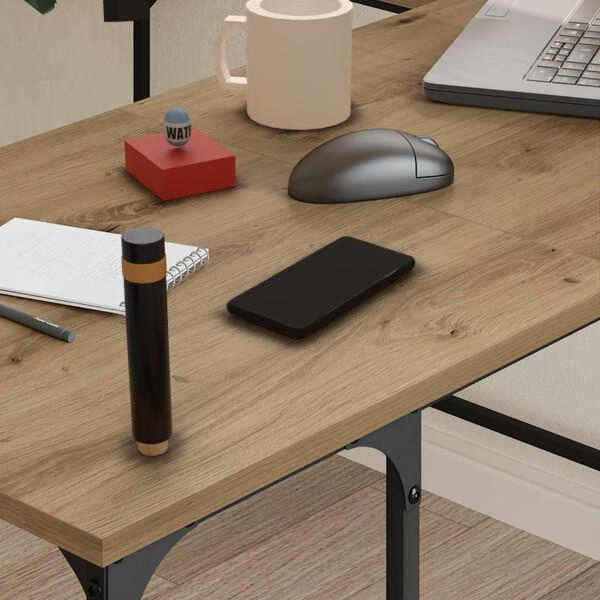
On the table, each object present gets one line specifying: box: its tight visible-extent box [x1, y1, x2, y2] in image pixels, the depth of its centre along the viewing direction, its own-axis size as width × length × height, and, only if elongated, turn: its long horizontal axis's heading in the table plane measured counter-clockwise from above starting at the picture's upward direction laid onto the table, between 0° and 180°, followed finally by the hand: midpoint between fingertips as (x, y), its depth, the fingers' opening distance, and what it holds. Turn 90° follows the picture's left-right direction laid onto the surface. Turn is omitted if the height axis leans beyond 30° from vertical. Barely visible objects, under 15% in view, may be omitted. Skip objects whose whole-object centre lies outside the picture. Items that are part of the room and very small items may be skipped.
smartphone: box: [226, 235, 416, 339], centre depth 103 cm, size 7×1×15 cm
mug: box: [212, 0, 354, 131], centre depth 137 cm, size 14×10×11 cm
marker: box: [120, 226, 174, 457], centre depth 82 cm, size 2×2×14 cm
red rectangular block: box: [123, 107, 237, 202], centre depth 122 cm, size 8×7×6 cm
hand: (10, 22), depth 70 cm, fingers open, 13 cm apart
